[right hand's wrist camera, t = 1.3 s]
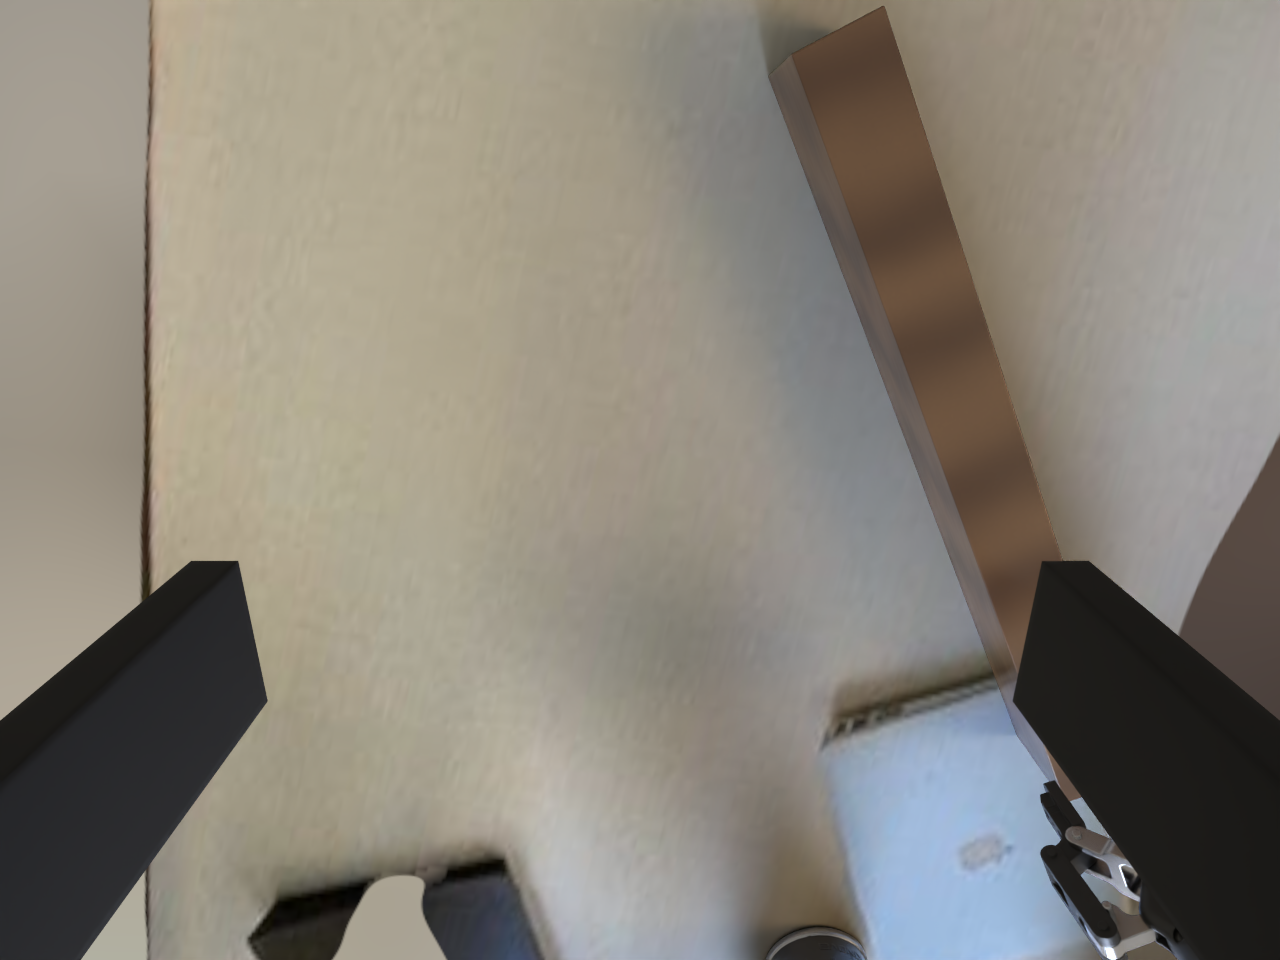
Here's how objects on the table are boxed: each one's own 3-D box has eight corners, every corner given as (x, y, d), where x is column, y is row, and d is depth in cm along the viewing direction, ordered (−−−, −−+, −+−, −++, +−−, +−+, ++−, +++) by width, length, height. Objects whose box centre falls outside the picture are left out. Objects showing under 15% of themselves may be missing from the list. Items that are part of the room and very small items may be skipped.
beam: (767, 75, 46) (791, 53, 39) (846, 34, 45) (884, 4, 38) (1017, 736, 62) (1064, 803, 55) (1077, 713, 62) (1133, 779, 55)
